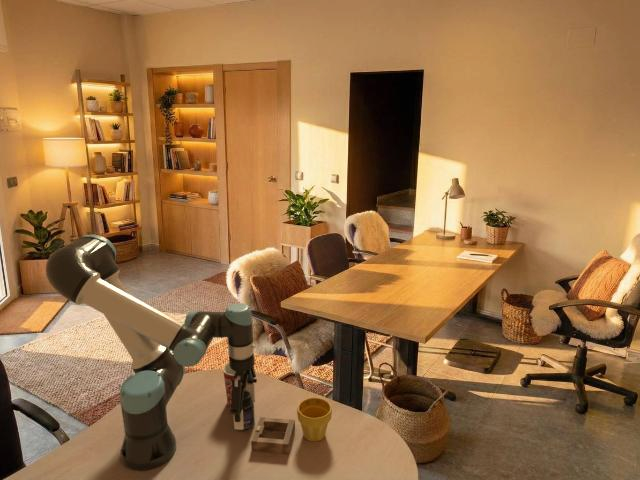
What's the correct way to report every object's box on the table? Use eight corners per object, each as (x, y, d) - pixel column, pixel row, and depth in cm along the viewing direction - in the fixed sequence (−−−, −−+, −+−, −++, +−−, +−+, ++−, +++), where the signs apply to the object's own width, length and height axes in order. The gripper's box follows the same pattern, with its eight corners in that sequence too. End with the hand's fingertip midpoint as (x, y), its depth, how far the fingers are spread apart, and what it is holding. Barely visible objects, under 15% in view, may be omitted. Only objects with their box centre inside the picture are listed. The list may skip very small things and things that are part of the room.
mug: (249, 411, 161) (248, 375, 157) (222, 410, 161) (220, 374, 157) (255, 388, 173) (253, 354, 169) (229, 388, 173) (227, 354, 169)
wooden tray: (251, 451, 143) (251, 440, 142) (260, 426, 153) (260, 416, 152) (288, 454, 142) (288, 443, 140) (295, 429, 152) (294, 419, 151)
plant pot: (327, 448, 144) (328, 420, 141) (293, 443, 146) (293, 415, 143) (333, 425, 154) (334, 399, 151) (302, 421, 156) (301, 395, 153)
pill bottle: (257, 427, 153) (256, 397, 150) (239, 434, 150) (238, 403, 147) (249, 416, 158) (248, 387, 155) (232, 423, 155) (230, 393, 152)
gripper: (242, 378, 134) (246, 442, 140) (263, 335, 158) (266, 391, 164) (215, 376, 135) (221, 440, 141) (240, 333, 159) (244, 390, 165)
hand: (245, 414), depth 153 cm, fingers open, 13 cm apart
